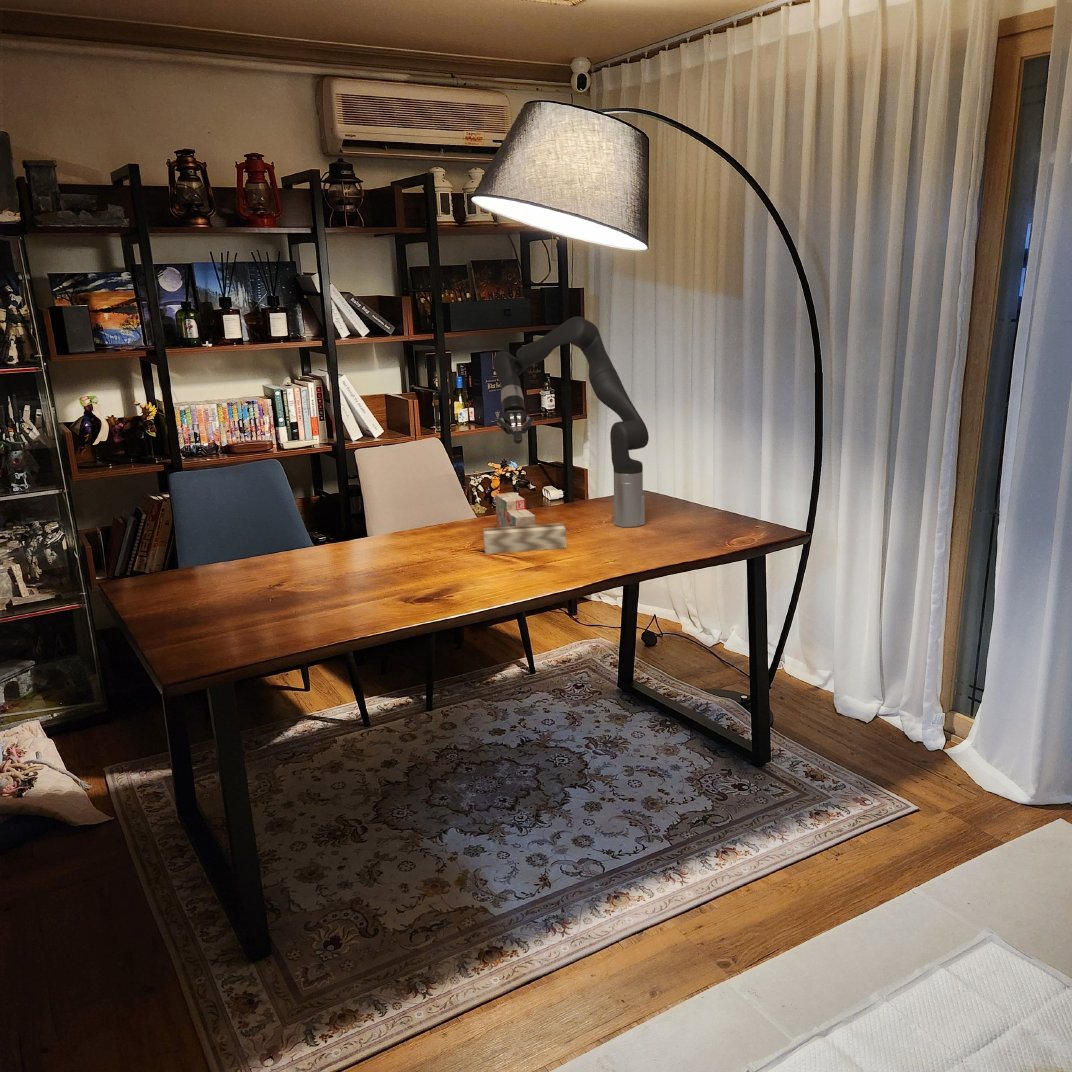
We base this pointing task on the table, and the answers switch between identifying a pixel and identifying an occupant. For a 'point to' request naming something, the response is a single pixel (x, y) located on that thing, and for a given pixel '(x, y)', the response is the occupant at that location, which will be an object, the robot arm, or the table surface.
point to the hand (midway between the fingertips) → (518, 442)
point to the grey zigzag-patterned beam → (524, 538)
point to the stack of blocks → (512, 511)
